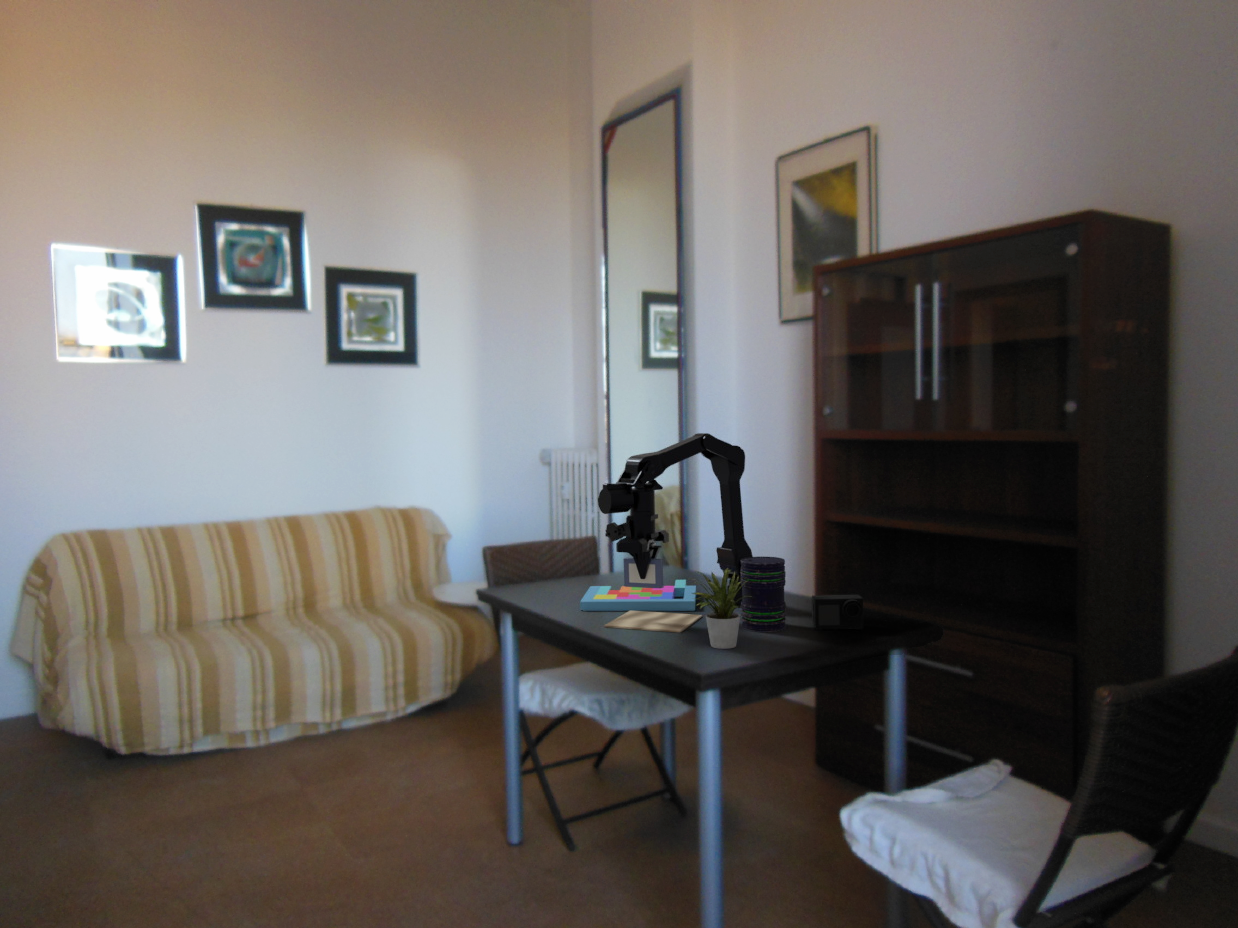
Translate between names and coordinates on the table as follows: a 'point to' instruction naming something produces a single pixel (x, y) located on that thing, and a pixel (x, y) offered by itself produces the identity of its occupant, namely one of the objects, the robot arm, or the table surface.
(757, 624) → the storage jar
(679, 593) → the tetris game
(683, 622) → the wooden mat
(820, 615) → the digital camera
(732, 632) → the house plant
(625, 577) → the card deck
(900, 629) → the table surface
